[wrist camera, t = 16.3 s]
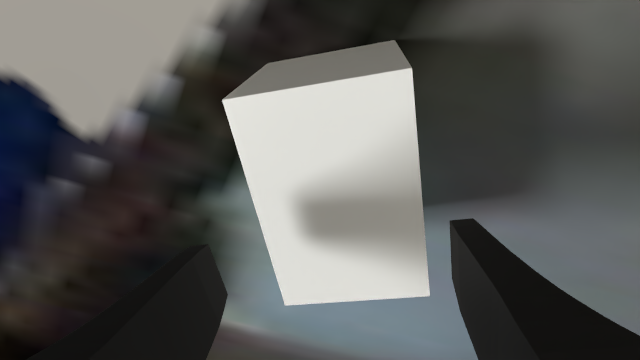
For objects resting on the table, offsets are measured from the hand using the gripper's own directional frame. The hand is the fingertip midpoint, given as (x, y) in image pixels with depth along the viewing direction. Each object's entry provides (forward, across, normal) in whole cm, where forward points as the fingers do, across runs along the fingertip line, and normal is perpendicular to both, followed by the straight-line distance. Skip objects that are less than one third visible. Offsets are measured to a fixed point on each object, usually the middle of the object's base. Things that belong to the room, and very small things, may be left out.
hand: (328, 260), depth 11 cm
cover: (+9, 0, 0) cm, 9 cm away
